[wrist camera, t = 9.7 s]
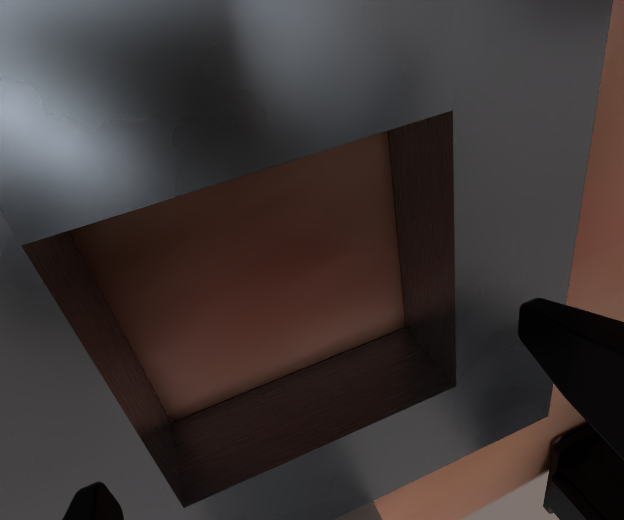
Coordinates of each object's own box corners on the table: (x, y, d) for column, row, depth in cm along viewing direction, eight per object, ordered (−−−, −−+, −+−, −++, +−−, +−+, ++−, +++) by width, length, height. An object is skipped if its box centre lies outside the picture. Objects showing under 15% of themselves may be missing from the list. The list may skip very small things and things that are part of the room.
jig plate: (518, -132, 11) (639, -165, 8) (493, 362, 20) (548, 416, 17) (-323, 40, 8) (-528, 68, 5) (101, 535, 16) (99, 632, 14)
